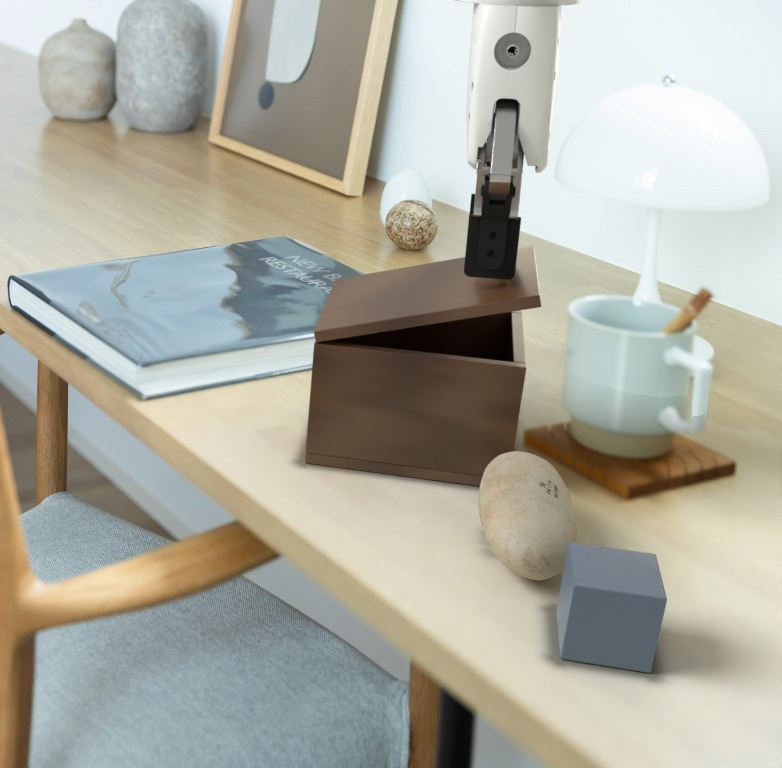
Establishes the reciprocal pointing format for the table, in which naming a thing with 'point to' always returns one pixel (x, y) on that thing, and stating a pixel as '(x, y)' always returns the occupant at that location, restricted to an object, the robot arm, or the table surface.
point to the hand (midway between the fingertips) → (489, 261)
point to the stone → (526, 514)
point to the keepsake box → (419, 398)
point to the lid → (424, 297)
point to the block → (610, 607)
